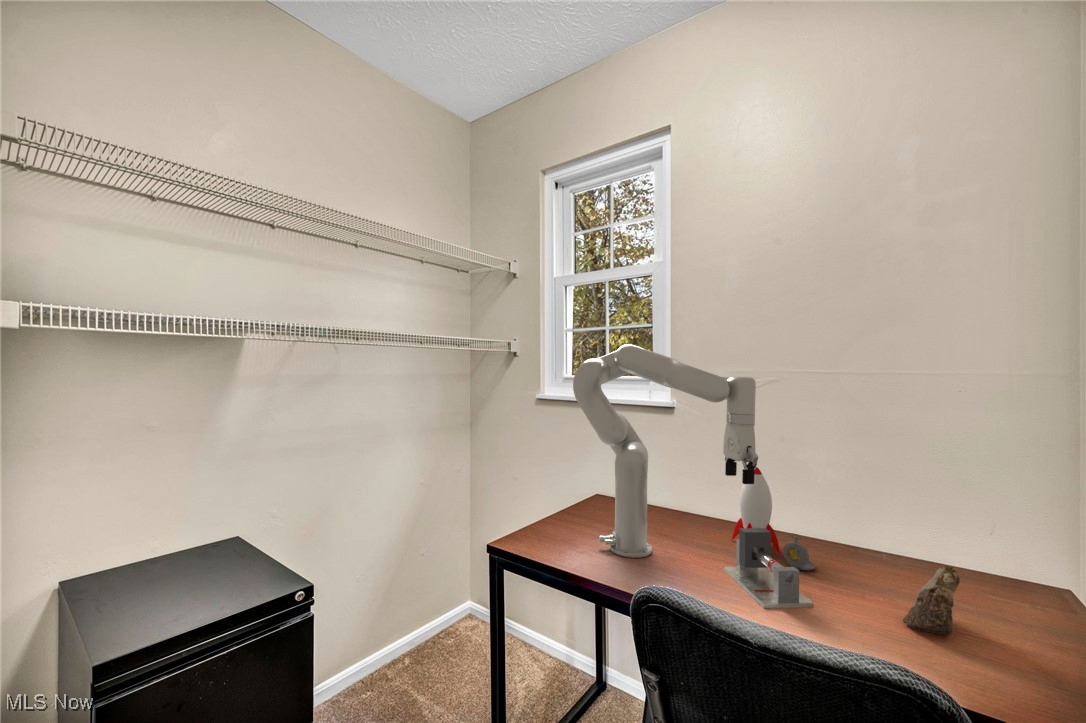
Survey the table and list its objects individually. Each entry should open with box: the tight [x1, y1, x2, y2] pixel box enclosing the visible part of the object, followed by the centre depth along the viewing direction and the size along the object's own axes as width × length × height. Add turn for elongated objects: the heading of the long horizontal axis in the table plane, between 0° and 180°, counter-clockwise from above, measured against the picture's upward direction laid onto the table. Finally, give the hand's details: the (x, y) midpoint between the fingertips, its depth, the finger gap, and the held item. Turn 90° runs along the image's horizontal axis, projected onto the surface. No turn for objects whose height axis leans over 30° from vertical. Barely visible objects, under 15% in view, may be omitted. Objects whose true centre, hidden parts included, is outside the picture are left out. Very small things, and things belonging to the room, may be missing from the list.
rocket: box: [731, 466, 782, 557], centre depth 144 cm, size 11×11×25 cm
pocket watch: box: [782, 533, 816, 571], centre depth 130 cm, size 8×8×10 cm
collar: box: [738, 528, 772, 568], centre depth 123 cm, size 7×3×9 cm, turn 94°
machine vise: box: [723, 538, 814, 609], centre depth 118 cm, size 12×20×8 cm, turn 4°
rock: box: [902, 565, 961, 637], centre depth 101 cm, size 15×8×15 cm
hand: (739, 479), depth 134 cm, fingers open, 9 cm apart
